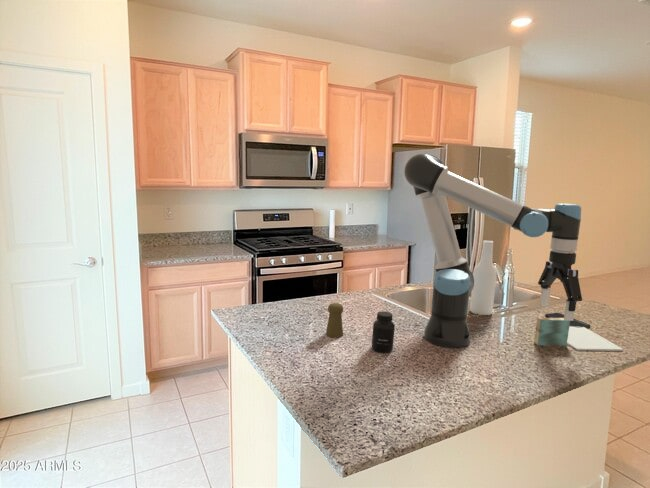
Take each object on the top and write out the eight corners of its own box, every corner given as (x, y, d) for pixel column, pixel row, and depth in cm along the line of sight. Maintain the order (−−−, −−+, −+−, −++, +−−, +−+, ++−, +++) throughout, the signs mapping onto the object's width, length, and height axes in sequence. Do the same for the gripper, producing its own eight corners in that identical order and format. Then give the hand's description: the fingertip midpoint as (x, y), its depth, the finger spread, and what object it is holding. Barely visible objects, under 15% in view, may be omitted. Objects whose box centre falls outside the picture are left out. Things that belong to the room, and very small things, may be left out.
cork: (346, 333, 144) (347, 303, 142) (339, 339, 139) (340, 308, 137) (330, 329, 147) (331, 300, 145) (322, 335, 141) (324, 305, 139)
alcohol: (492, 317, 165) (500, 243, 160) (469, 314, 168) (476, 241, 163) (491, 310, 174) (499, 240, 168) (469, 307, 176) (476, 238, 171)
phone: (557, 312, 172) (591, 325, 158) (557, 315, 172) (591, 328, 158) (543, 314, 169) (577, 327, 155) (543, 316, 169) (576, 330, 156)
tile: (537, 345, 140) (541, 320, 138) (534, 342, 142) (537, 317, 140) (566, 345, 140) (570, 320, 139) (562, 342, 143) (565, 318, 141)
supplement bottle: (379, 355, 128) (381, 318, 125) (367, 347, 134) (369, 311, 131) (397, 351, 131) (400, 315, 129) (384, 343, 137) (387, 308, 135)
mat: (576, 350, 136) (576, 348, 136) (542, 327, 156) (542, 326, 156) (623, 350, 137) (623, 349, 137) (583, 328, 157) (583, 326, 157)
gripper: (601, 259, 123) (591, 326, 127) (551, 244, 148) (545, 301, 151) (576, 258, 123) (568, 326, 126) (531, 244, 147) (525, 301, 151)
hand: (555, 313), depth 139 cm, fingers open, 13 cm apart
